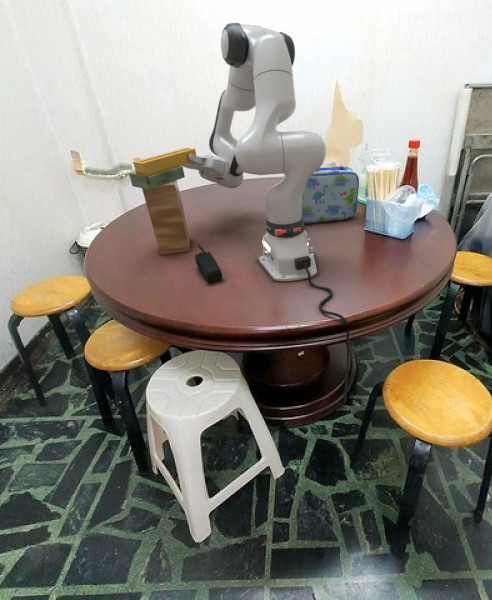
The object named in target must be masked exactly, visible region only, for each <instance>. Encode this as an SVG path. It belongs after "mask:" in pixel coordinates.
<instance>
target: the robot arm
mask: <svg viewBox="0 0 492 600" xmlns="http://www.w3.org/2000/svg"><path fill="white" fill-rule="evenodd" d="M221 32H222V33H221V37H220V50H221V55H222V56H221V57H222V58H223V60H224V62H225V63H226V64H227V66H229V68H228V77H227V85H226V88H225V90H223V91H222V93H221V95H220V96H219V97H220V98H219V101H218V104H217V105H218V106H217V110H216V114H215V121H214V126H213V129H212V131H211V135H210V137H209V140H208V141H209V142H208V146H209V150H210V151H211V153H212V154H214V156H213V155H211V154H207V155H204V156H201V155H196V156H194V155H192V154H188V155H187V159H188V160H190V161H194V162H193V163H189V164H186V165H183V166H182V167H183V168H186V169H189V170H195V171H198V174H199V177H201V178H202V179H204V180H206V181H209V182H211V183H215V184H217V185H219V186H221V187H224V188H226V189H236V188H238V187H240V186H241V185H242V183H243V181H244V174H249V175H257V176H267V175H280V174H282V175H283V177H282V179H281V180H280V181H279V182H278V183H276V184H274V185H273V186H271V187H270V188H269V189H268V191H267V192H266V194H265V208H266V211H265V212H266V218H265V227H266V232H265V233H264V235H263V236H262V251H263V255H261V256H259V257H258V262H259V263H260V265H261V266H262V267H263V269H265V271H266V272H267V274H269V276H270V277H271V278H272V279H273V281H275V282H295V281H301V280H305V279H308V280H307V281H308V283H309V285H310V286H311V287H312V288H315V289H319V290H324V291H328V293H329V294H328V295H327V296H326V298H324V299H323V300H321V301H320V302H319V304H318V309H319V311H320V312H321V313H323V314H326V315H330V316H335V317H337V318H339V319H341V320H342V321H343V323H344V324H345V325H346V326H347V325H349V323H348V321H347V319H346V318H345V317H344V316H343V315H341V314H339V313H337V312H333V311H328V310H325V309H323V307H322V306H323V304H324V303H326V302H327V301H329V299H331V297H332V296H333V290H332V289H331V288H329V287H326V286H325V287H324V286H318V285H316V284H314V283H313V282H312V277H314V276H316V275H318V270H317V265H316V259H315V254H314V253H315V251H314V246H309V244H310V243H311V238H309V237H308V236H307V235H308V234H307V233H308V232H307V230H305V223H304V221H303V216H302V196H303V191H304V188H305V185H306V183H307V181H308V180H309V178H310V177H311V175H312V174H313V173H314V172H315V171H316V170H317V169H319V168H322V165H323V164H324V162H325V159H326V157H327V148H326V144H325V143H326V142H325V140H324V139H323V137H322V135H320V134H319V133H317V132H313V131H306V130H294V131H278V130H277V127H278V126H279V125H280V124H282V123H283V122H285V121H286V120H288V119H289V118H290V117H292V115H293V114H294V112H295V111H296V107H297V102H296V101H297V100H296V92H295V91H296V90H295V82H294V73H293V72H294V71H293V66H294V63H295V60H296V59H295V57H296V46H295V43H294V39H293V38H292V36H290V35H288V34H287V33H285V32H282V31H276V30H273V29H270V28H266V27H262V26H260V25H255V24H243V23H242V24H240V22H230V23H227V24H226V25H225V26H224V27H223V29H222V31H221ZM254 108H255V112H254V118H253V120H252V122H251V125H250V127H249V128H248V130H247V131H246V132H245V133H244V134H243V135H242V136H241V137H240V138H239V140H238V139H236V138H235V137H234V136H233V134H232V131H231V128H232V124H233V118H234V115H235V113H236V112H248V111H251V110H253V109H254ZM216 156H217V157H216ZM345 334H346V336H345V338H346V339H345V341H346V342H345V343H346V344H345V345H346V366H345V367H346V369H345V370H346V371H345V381H344V393H343V403H344V404H346V403H347V395H348V383H349V375H350V373H349V372H350V330H346V333H345Z"/></svg>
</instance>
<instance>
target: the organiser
mask: <svg viewBox="0 0 492 600" xmlns="http://www.w3.org/2000/svg"><path fill="white" fill-rule="evenodd" d="M184 171H185V170H184V167H183V166H180V167H177V168H173V169H170V170H167V171H164V172H161V173H157V174H154V175H151V176H146V175H141V174H136V172H129V173H128V175H129V179H130V182H131V186H132V187H133V188H140V189H141V190H142V194H143V197H144V201H145V205H146V207H147V211H148V214H149V219H150V223H151V225H152V229H153V232H154V237H155V240H156V243H157V247H158V250H159V255H160V256H161V255H169V254H177V253H186V252H190V251H191V238H190V233H189V229H188V225H187V220H186V216H185V210H184V206H183V201H182V196H181V193H180V188H179V184H178V180H181V179H184V178H186V175H185V172H184Z"/></svg>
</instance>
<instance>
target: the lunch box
mask: <svg viewBox="0 0 492 600" xmlns="http://www.w3.org/2000/svg"><path fill="white" fill-rule="evenodd" d="M359 177H360V176H359V175H358V174H357V172H356V171H354V170H353V169H352V168H351V167H349V166H344V165H339V166H332V167H320V168H319V169H317V170H316V171H315V172H314V173H313V174H312V175H311V177H310V178H309V180H308V181H307V183H306V185H305V188H304V191H303V196H302V216H303V221H304V224H314V223H315V224H316V223H317V224H319V223H326V222H335V221H347V220H350V219H352V218H354V216H356V212H357V207H358V199H359V188H360V178H359Z"/></svg>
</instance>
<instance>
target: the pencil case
mask: <svg viewBox="0 0 492 600" xmlns="http://www.w3.org/2000/svg"><path fill="white" fill-rule="evenodd" d="M188 154H192V155H194V156H197V151H196V148H191V147H184V148H180V149H176V150H172V151H168V152H165V153H162V154H157V155H153V156H150V157H146V158H142V159H138V160H134V161H133V167H134V171H135V173H136V174H141V175H146V176H151V175H154V174H157V173H161V172H164V171H167V170H170V169H174V168H177V167H180V166H182V167H183V165H186V164H189V163H193V162H194V161H190V160H188V159H187V155H188Z"/></svg>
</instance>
